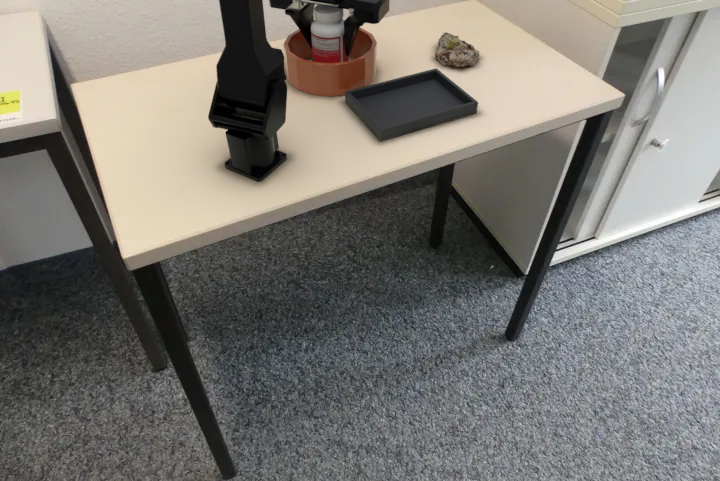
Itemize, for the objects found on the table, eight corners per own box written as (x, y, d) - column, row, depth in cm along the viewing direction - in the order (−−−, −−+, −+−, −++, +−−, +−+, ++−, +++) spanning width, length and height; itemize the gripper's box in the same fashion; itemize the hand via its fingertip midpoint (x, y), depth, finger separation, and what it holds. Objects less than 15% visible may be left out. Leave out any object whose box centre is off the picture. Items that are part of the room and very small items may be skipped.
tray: (380, 141, 78) (380, 130, 76) (345, 102, 86) (344, 91, 84) (476, 113, 83) (478, 102, 82) (435, 78, 91) (436, 68, 89)
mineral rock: (492, 54, 92) (451, 46, 89) (482, 77, 95) (442, 71, 92) (468, 30, 100) (431, 22, 97) (460, 52, 102) (423, 45, 100)
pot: (345, 105, 85) (344, 73, 81) (269, 80, 91) (265, 50, 87) (391, 65, 94) (392, 35, 90) (319, 45, 100) (318, 16, 96)
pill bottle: (334, 60, 95) (332, -3, 87) (355, 73, 92) (355, 9, 84) (306, 71, 92) (301, 6, 85) (327, 84, 89) (324, 19, 81)
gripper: (402, -58, 81) (397, 40, 92) (293, -71, 86) (301, 24, 97) (378, -34, 74) (376, 69, 85) (261, -50, 79) (273, 50, 90)
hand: (330, 51), depth 90 cm, fingers closed on pill bottle, 6 cm apart
